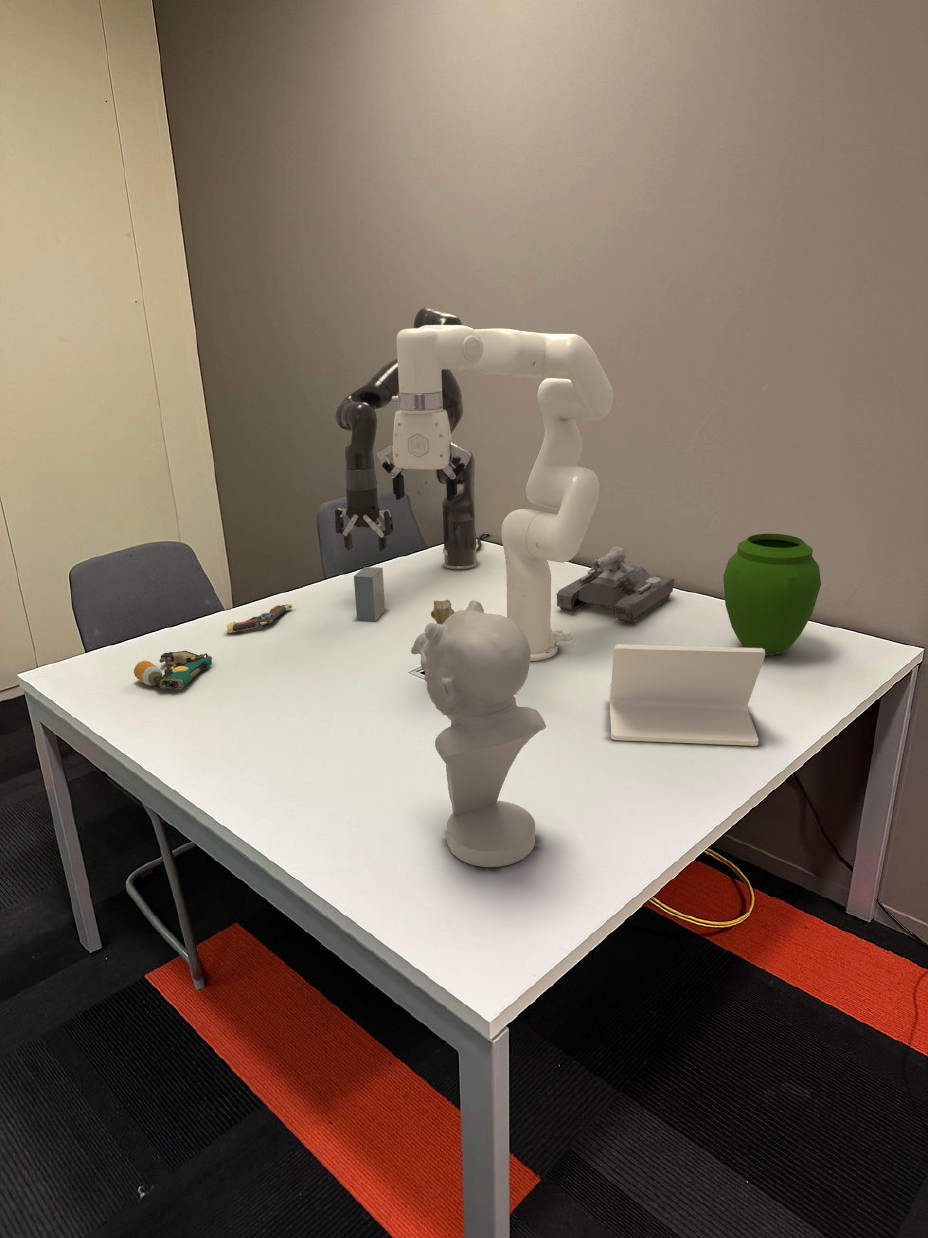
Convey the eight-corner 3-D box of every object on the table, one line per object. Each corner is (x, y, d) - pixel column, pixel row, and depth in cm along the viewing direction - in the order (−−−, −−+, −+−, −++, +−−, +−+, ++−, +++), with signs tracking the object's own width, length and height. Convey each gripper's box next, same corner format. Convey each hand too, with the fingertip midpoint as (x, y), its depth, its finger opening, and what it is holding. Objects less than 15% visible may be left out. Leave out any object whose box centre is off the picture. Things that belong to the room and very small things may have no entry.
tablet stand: (759, 746, 146) (769, 654, 140) (611, 740, 149) (614, 650, 143) (741, 699, 163) (749, 615, 157) (609, 695, 166) (611, 613, 160)
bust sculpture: (481, 772, 140) (476, 569, 128) (565, 848, 120) (569, 617, 108) (392, 800, 134) (378, 588, 121) (465, 886, 114) (457, 642, 101)
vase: (820, 642, 188) (834, 534, 179) (800, 674, 173) (814, 558, 164) (732, 626, 198) (741, 524, 189) (705, 656, 183) (714, 546, 174)
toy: (603, 584, 229) (605, 530, 224) (673, 597, 218) (677, 540, 213) (555, 612, 210) (556, 553, 205) (630, 627, 199) (633, 566, 194)
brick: (357, 620, 209) (353, 576, 205) (367, 609, 216) (364, 566, 212) (375, 621, 208) (372, 577, 204) (385, 610, 215) (382, 567, 211)
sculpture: (458, 662, 183) (456, 596, 178) (460, 676, 176) (457, 608, 171) (431, 663, 183) (428, 597, 177) (431, 677, 176) (428, 609, 171)
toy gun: (223, 625, 202) (262, 621, 199) (256, 603, 219) (292, 600, 217) (225, 635, 202) (264, 632, 200) (258, 613, 220) (294, 610, 218)
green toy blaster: (177, 659, 191) (231, 671, 185) (120, 684, 176) (176, 698, 171) (176, 641, 190) (230, 653, 184) (118, 665, 175) (174, 678, 169)
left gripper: (327, 488, 204) (333, 553, 210) (384, 489, 200) (388, 556, 206) (339, 481, 210) (344, 544, 216) (394, 482, 207) (398, 547, 213)
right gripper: (367, 405, 148) (373, 502, 154) (463, 405, 144) (466, 505, 150) (381, 400, 155) (387, 493, 161) (474, 400, 151) (476, 495, 157)
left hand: (366, 550), depth 211 cm, fingers open, 8 cm apart
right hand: (425, 498), depth 156 cm, fingers open, 9 cm apart
